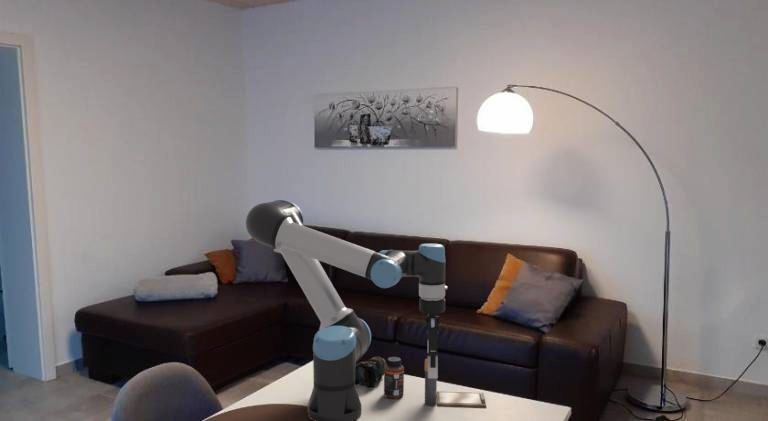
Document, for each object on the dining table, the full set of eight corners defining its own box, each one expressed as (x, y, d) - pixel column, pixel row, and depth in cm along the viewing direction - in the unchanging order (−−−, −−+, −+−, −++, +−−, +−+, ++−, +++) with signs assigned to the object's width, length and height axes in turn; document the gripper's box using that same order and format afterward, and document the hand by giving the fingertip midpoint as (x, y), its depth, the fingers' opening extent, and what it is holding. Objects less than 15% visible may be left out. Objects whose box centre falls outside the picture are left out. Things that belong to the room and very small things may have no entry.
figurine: (345, 367, 182) (371, 348, 194) (353, 391, 182) (378, 372, 194) (367, 365, 177) (392, 346, 189) (374, 390, 177) (399, 370, 189)
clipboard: (437, 405, 167) (437, 400, 167) (436, 393, 176) (436, 388, 176) (486, 407, 166) (486, 402, 166) (482, 394, 175) (482, 390, 175)
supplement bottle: (401, 400, 171) (402, 363, 170) (382, 398, 172) (382, 361, 171) (405, 392, 177) (405, 356, 176) (386, 390, 178) (386, 354, 177)
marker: (424, 405, 167) (424, 362, 166) (424, 400, 171) (424, 357, 170) (437, 406, 167) (437, 362, 166) (436, 401, 170) (437, 358, 169)
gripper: (447, 308, 153) (447, 385, 155) (443, 288, 178) (443, 355, 180) (419, 308, 154) (419, 385, 156) (419, 288, 179) (419, 354, 180)
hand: (432, 369), depth 168 cm, fingers open, 13 cm apart
